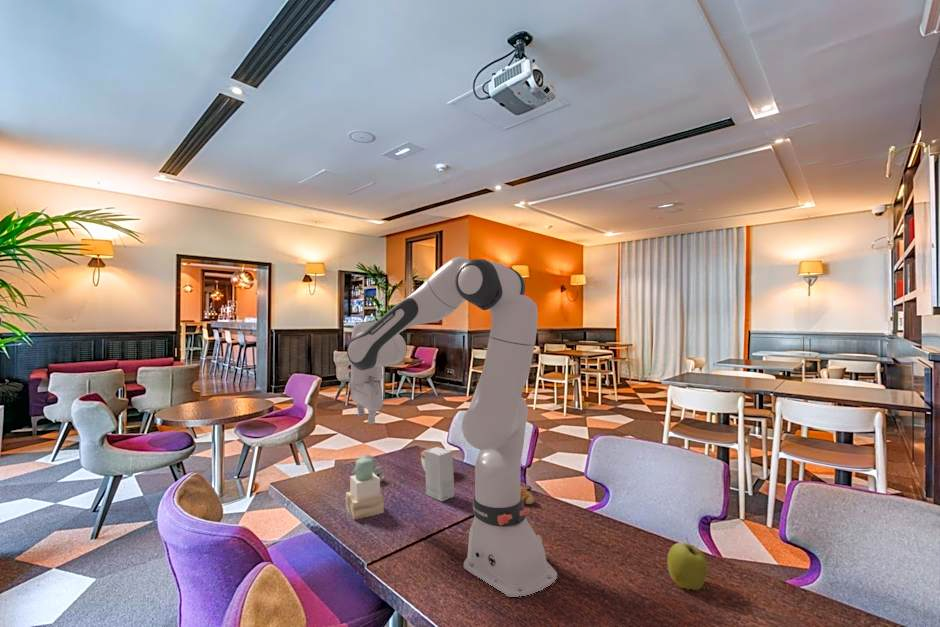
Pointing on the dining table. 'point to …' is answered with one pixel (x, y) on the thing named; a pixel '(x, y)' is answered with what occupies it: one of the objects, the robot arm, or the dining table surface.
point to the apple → (687, 566)
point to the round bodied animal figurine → (376, 469)
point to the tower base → (364, 506)
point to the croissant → (526, 496)
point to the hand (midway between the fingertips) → (366, 420)
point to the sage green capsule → (364, 469)
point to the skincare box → (439, 473)
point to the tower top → (364, 488)
